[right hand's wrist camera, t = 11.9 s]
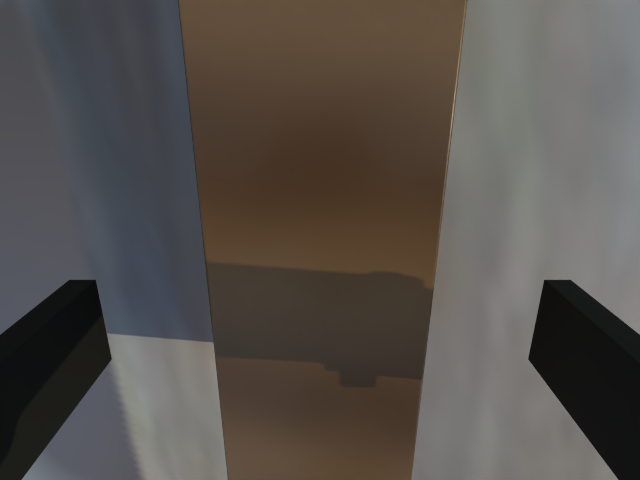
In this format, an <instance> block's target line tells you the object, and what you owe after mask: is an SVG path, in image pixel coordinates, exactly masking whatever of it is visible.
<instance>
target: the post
mask: <svg viewBox="0 0 640 480" xmlns="http://www.w3.org/2000/svg"><path fill="white" fill-rule="evenodd" d="M178 5H179V15H180V24H181V34H182V44H183V53H184V63H185V72H186V82H187V92H188V101H189V111H190V120H191V130H192V139H193V149H194V159H195V168H196V178H197V187H198V197H199V207H200V216H201V226H202V235H203V245H204V255H205V264H206V274H207V283H208V293H209V302H210V312H211V322H212V331H213V341H214V350H215V360H216V370H217V379H218V389H219V398H220V408H221V418H222V427H223V437H224V446H225V456H226V466H227V475H228V480H411V477H412V468H413V460H414V451H415V443H416V434H417V426H418V417H419V409H420V400H421V391H422V383H423V374H424V366H425V357H426V349H427V340H428V332H429V323H430V315H431V306H432V298H433V289H434V281H435V272H436V264H437V255H438V246H439V238H440V229H441V221H442V212H443V204H444V195H445V187H446V178H447V170H448V161H449V153H450V144H451V136H452V127H453V119H454V110H455V101H456V93H457V84H458V76H459V67H460V59H461V50H462V42H463V33H464V25H465V16H466V8H467V0H178Z"/></svg>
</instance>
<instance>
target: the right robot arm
mask: <svg viewBox="0 0 640 480" xmlns="http://www.w3.org/2000/svg"><path fill="white" fill-rule="evenodd" d="M111 359H112V358H111V353H110V348H109V343H108V338H107V333H106V329H105V324H104V319H103V314H102V309H101V304H100V299H99V294H98V289H97V284H96V280H69V281H68V282H66V283H65V284H64V285H63V286H61V287H60V288H59V289H57V290H56V291H55V292H54V293H52V294H51V295H50V296H49V297H47V298H46V299H45V300H44V301H42V302H41V303H40V304H39V305H37V306H36V307H35V308H34V309H32V310H31V311H30V312H28V313H27V314H26V315H25V316H23V317H22V318H21V319H20V320H18V321H17V322H16V323H15V324H13V325H12V326H11V327H10V328H8V329H7V330H6V331H5V332H3V333H2V334H1V335H0V480H22V478H23V477H24V476H25V474H26V473H27V472H28V470H29V469H30V468H31V466H32V465H33V464H34V462H35V461H36V459H37V458H38V457H39V456H40V454H41V453H42V452H43V450H44V449H45V448H46V446H47V445H48V443H49V442H50V441H51V439H52V438H53V437H54V435H55V434H56V433H57V431H58V430H59V429H60V427H61V426H62V425H63V423H64V422H65V421H66V419H67V418H68V417H69V415H70V414H71V413H72V411H73V410H74V409H75V407H76V406H77V405H78V403H79V402H80V401H81V399H82V398H83V397H84V395H85V394H86V393H87V391H88V390H89V389H90V387H91V386H92V385H93V383H94V382H95V381H96V379H97V378H98V377H99V375H100V374H101V373H102V371H103V370H104V369H105V367H106V366H107V365H108V363H109V362H110V361H111ZM528 359H529V361H530V362H531V363H532V365H533V366H534V367H535V369H536V370H537V371H538V373H539V374H540V375H541V377H542V378H543V379H544V381H545V382H546V383H547V385H548V386H549V387H550V389H551V390H552V391H553V393H554V394H555V395H556V397H557V398H558V399H559V401H560V402H561V403H562V405H563V406H564V407H565V409H566V410H567V411H568V413H569V414H570V415H571V417H572V418H573V419H574V421H575V422H576V423H577V425H578V426H579V427H580V429H581V430H582V431H583V433H584V434H585V435H586V437H587V438H588V439H589V441H590V442H591V443H592V445H593V446H594V448H595V449H596V450H597V452H598V453H599V454H600V456H601V457H602V458H603V460H604V461H605V462H606V464H607V465H608V466H609V468H610V469H611V470H612V472H613V473H614V474H615V476H616V477H617V478H618V480H640V335H639V334H638V333H637V332H635V331H634V330H633V329H632V328H630V327H629V326H628V325H627V324H625V323H624V322H623V321H622V320H620V319H619V318H618V317H617V316H615V315H614V314H613V313H612V312H610V311H609V310H608V309H606V308H605V307H604V306H603V305H601V304H600V303H599V302H598V301H596V300H595V299H594V298H593V297H591V296H590V295H589V294H588V293H586V292H585V291H584V290H583V289H581V288H580V287H579V286H578V285H576V284H575V283H574V282H572V281H571V280H544V284H543V289H542V294H541V299H540V304H539V309H538V314H537V319H536V324H535V329H534V333H533V338H532V343H531V348H530V353H529V358H528Z"/></svg>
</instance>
